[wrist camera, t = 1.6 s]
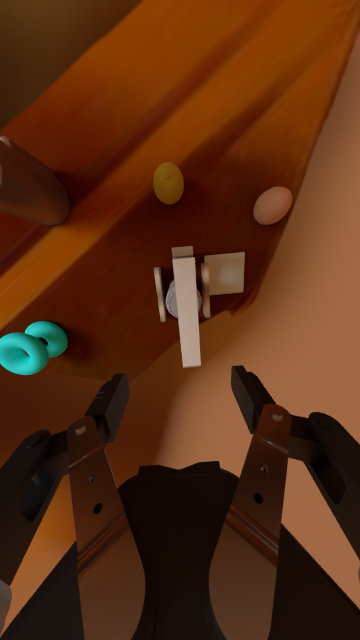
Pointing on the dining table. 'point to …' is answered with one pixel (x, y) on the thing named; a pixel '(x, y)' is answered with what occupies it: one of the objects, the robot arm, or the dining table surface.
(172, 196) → the lemon
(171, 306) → the energy drink can
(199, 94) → the dining table surface
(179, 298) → the bar
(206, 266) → the cradle
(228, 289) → the coaster
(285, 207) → the egg
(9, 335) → the donuts
